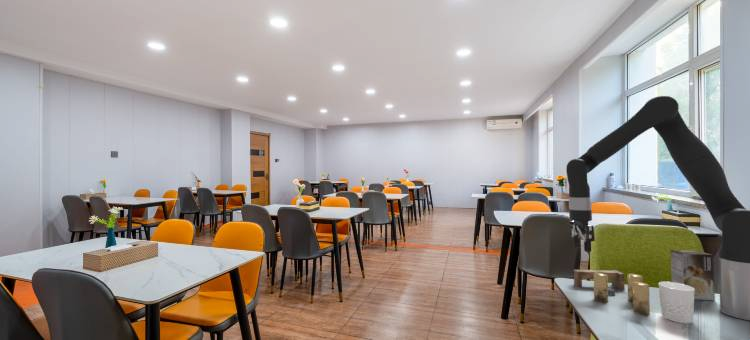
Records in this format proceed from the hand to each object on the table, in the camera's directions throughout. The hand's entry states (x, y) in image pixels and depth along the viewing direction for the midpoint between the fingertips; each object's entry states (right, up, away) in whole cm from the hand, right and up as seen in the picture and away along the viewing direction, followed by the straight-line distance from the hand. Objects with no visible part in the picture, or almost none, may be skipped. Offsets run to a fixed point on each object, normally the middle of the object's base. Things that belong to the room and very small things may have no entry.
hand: (581, 249), depth 123 cm
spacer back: (+3, -14, -24) cm, 28 cm away
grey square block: (+3, -15, -8) cm, 17 cm away
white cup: (+10, -14, -29) cm, 34 cm away
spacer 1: (-3, -14, -15) cm, 21 cm away
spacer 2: (+8, -14, -16) cm, 23 cm away
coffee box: (+32, -14, -12) cm, 37 cm away
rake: (+6, -15, -1) cm, 16 cm away
